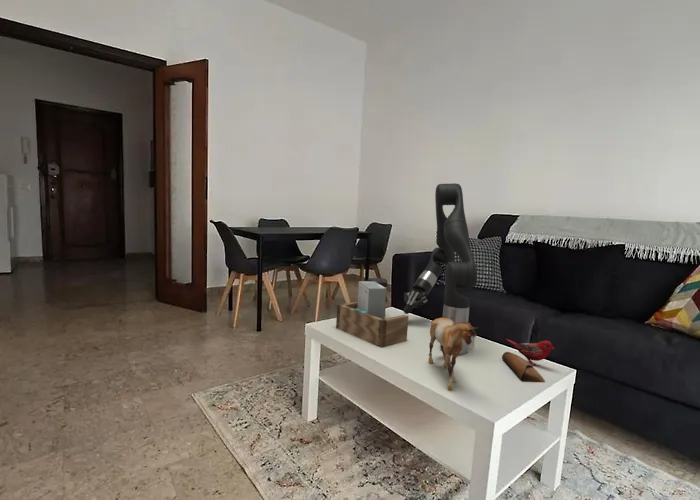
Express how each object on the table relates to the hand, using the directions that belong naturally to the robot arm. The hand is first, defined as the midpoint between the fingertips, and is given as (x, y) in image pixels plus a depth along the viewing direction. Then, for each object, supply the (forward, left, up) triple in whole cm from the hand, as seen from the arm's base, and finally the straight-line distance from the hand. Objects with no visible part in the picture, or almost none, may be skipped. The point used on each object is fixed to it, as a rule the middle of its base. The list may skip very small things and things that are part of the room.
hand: (405, 312), depth 177 cm
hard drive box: (+2, +19, -6) cm, 20 cm away
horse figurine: (-43, +25, -6) cm, 50 cm away
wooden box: (0, +21, -6) cm, 22 cm away
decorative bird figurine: (-52, -6, -6) cm, 53 cm away
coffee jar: (+17, +2, -6) cm, 18 cm away
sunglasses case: (-55, +2, -7) cm, 55 cm away
